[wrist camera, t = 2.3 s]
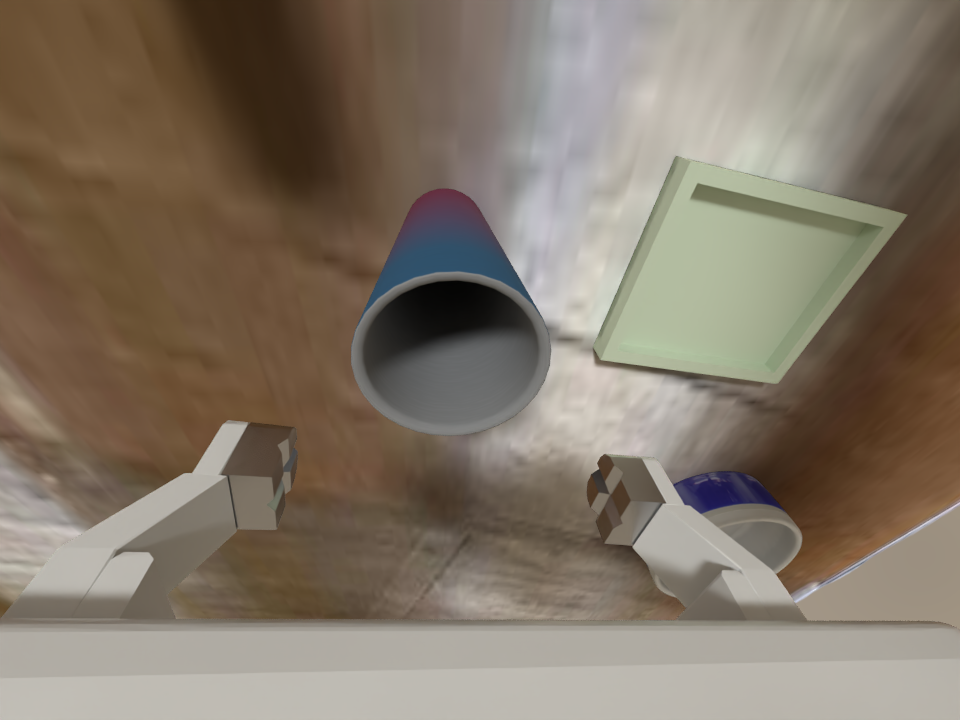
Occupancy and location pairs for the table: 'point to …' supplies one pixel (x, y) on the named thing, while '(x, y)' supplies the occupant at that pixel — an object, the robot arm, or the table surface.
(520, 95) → the table surface
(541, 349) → the cup
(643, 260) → the tray
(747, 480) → the dog bowl
